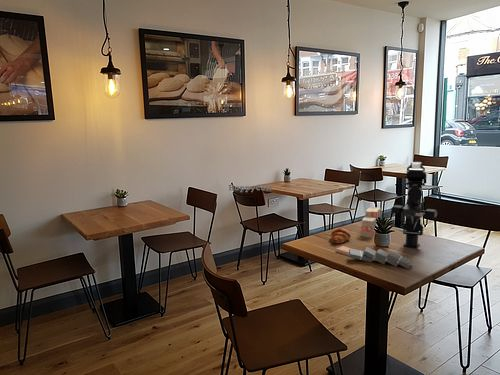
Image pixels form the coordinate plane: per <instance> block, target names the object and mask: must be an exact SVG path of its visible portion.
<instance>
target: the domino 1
mask: <svg viewBox="0 0 500 375" xmlns="http://www.w3.org/2000/svg"><path fill="white" fill-rule="evenodd" d="M349 249H350V247H348V246H344V245H342V246H339V247H336V250H335V252H336V253H339V254H343V255H345V256H348V257H349Z"/></svg>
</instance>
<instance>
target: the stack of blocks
mask: <svg viewBox="0 0 500 375" xmlns="http://www.w3.org/2000/svg"><path fill="white" fill-rule="evenodd" d="M381 210H382V208H381V207H376V206H369V207H368V208H367V209H366V210H365V216H364V217H363V218H362V219H361V228H360V236H361V237H365V238H373V237H374V236H375V235H376V234H375V230H374V229H375V226H376V219H377V218H378V217H380V218H381V215H382V214H381V212H382V211H381ZM374 234H375V235H374Z"/></svg>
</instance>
